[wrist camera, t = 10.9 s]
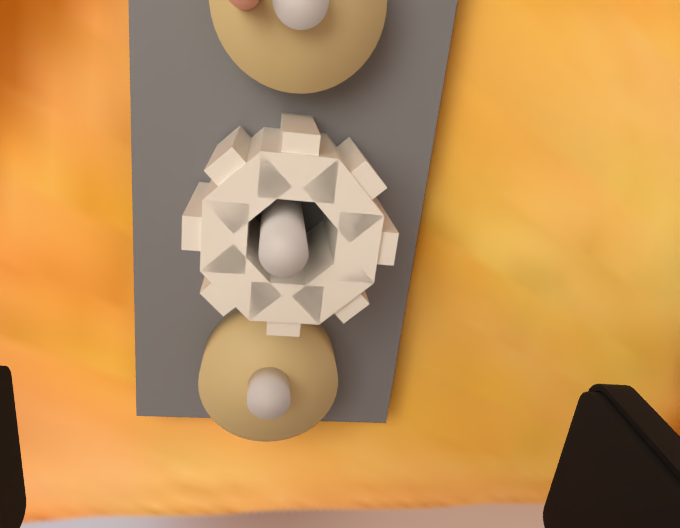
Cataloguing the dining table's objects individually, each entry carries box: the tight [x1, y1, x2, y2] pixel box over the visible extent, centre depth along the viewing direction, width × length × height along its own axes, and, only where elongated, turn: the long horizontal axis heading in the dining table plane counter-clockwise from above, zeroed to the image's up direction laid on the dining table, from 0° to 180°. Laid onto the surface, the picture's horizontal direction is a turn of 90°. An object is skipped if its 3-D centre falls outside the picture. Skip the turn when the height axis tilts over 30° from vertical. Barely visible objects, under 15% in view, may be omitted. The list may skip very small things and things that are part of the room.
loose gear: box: [181, 113, 399, 337], centre depth 22 cm, size 7×7×5 cm
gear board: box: [129, 0, 458, 441], centre depth 22 cm, size 12×22×8 cm, turn 174°
